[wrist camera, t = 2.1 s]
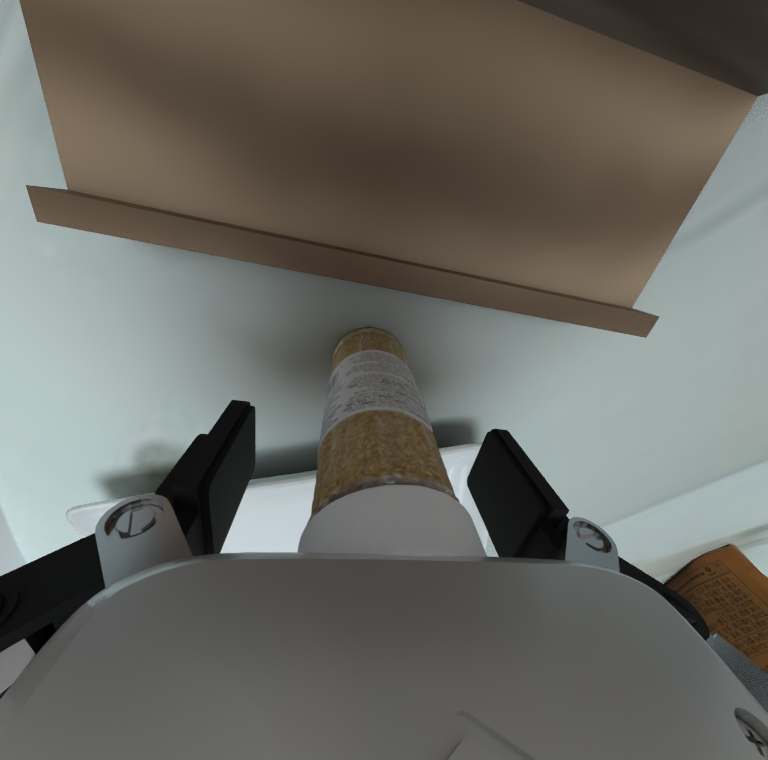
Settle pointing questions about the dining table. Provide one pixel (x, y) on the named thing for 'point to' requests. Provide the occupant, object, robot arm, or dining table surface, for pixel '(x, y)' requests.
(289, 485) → the square plate
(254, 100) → the spice rack
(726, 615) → the pancake mix bag
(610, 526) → the dining table surface
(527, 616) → the robot arm
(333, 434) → the sprinkles bottle
